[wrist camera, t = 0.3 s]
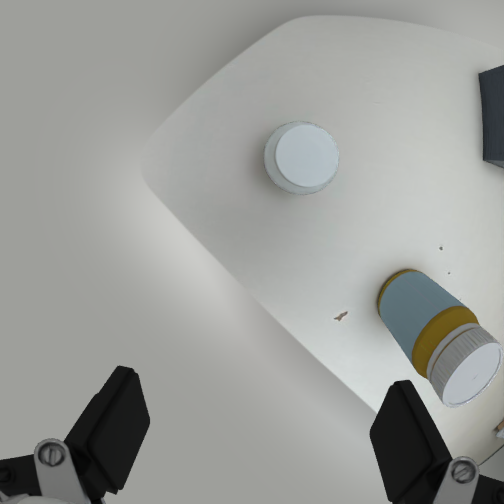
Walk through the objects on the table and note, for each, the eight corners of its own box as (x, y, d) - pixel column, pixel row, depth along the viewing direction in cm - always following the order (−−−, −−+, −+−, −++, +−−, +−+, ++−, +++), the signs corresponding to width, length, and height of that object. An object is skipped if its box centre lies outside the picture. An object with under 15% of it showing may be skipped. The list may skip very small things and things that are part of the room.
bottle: (415, 255, 27) (504, 317, 13) (435, 300, 29) (508, 372, 14) (365, 292, 29) (428, 381, 14) (389, 334, 30) (444, 423, 16)
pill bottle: (258, 182, 26) (254, 188, 17) (270, 128, 25) (271, 104, 16) (314, 195, 26) (339, 207, 17) (326, 141, 25) (356, 126, 16)
